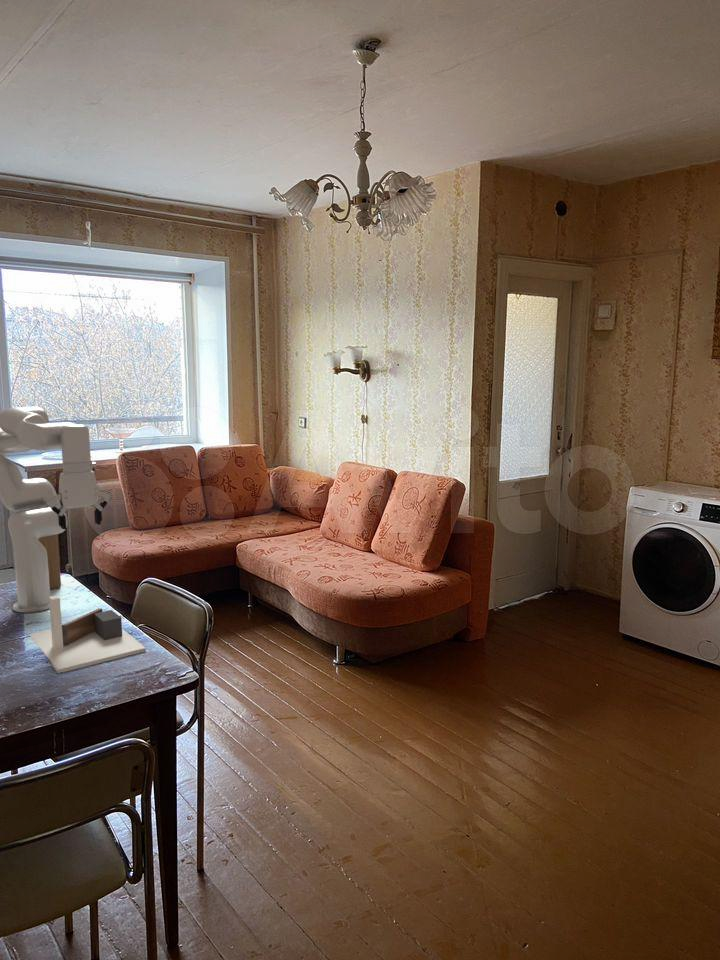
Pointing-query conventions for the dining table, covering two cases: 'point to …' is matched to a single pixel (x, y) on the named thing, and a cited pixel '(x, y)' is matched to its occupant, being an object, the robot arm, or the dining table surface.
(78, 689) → the dining table surface
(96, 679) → the dining table surface
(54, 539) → the wooden block
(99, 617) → the block
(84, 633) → the wooden slat
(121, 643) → the cream base with post
